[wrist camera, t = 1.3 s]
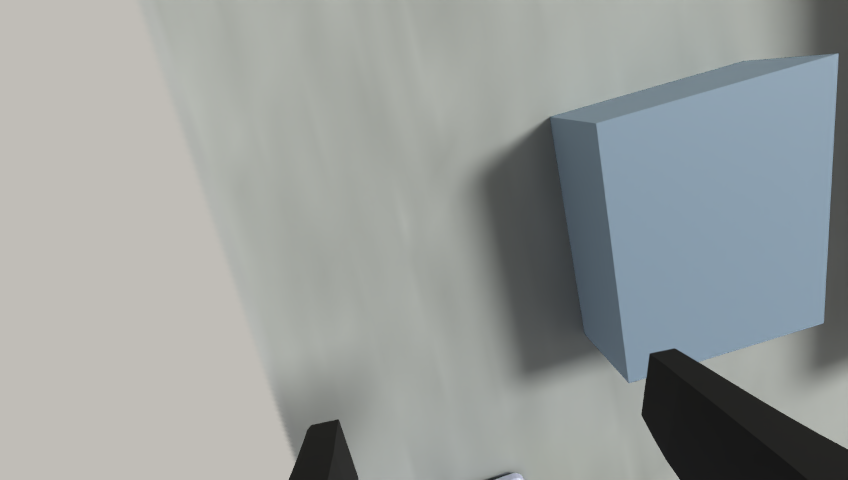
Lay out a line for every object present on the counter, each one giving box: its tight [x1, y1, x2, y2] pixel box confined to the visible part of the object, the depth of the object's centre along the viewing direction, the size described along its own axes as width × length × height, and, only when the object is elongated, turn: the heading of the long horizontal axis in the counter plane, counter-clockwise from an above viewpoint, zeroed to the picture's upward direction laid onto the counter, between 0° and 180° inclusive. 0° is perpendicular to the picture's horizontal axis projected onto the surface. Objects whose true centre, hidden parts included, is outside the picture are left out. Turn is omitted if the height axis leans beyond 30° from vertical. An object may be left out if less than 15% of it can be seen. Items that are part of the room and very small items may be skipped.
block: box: [550, 53, 839, 383], centre depth 17 cm, size 8×10×4 cm
